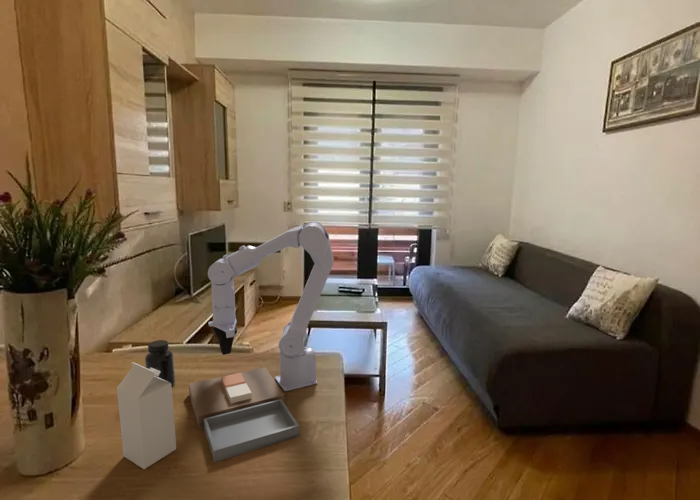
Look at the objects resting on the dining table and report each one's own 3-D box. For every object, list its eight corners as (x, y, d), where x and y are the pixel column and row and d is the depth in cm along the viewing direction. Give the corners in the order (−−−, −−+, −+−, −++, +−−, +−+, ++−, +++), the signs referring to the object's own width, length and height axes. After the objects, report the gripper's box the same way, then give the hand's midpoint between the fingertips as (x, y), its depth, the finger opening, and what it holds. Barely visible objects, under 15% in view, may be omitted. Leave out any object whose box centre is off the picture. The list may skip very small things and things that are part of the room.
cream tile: (246, 388, 104) (246, 383, 103) (251, 398, 99) (251, 392, 99) (226, 393, 101) (225, 387, 101) (230, 403, 97) (230, 397, 97)
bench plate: (265, 377, 115) (265, 367, 115) (284, 405, 102) (284, 394, 101) (189, 394, 106) (188, 383, 106) (199, 428, 92) (198, 416, 92)
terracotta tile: (240, 377, 109) (240, 372, 109) (245, 386, 104) (245, 381, 104) (221, 382, 107) (220, 376, 106) (225, 391, 102) (225, 385, 102)
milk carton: (144, 470, 79) (135, 379, 76) (123, 456, 83) (114, 369, 80) (176, 449, 85) (170, 364, 82) (155, 437, 89) (148, 355, 85)
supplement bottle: (180, 383, 111) (177, 341, 109) (157, 395, 106) (153, 351, 103) (165, 376, 115) (162, 336, 113) (141, 387, 109) (137, 344, 107)
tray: (281, 408, 101) (281, 398, 100) (299, 436, 90) (299, 425, 90) (204, 428, 92) (203, 418, 92) (214, 462, 82) (213, 451, 81)
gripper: (203, 299, 113) (205, 345, 115) (213, 315, 100) (215, 367, 103) (229, 295, 116) (231, 341, 119) (242, 311, 103) (244, 361, 106)
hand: (226, 353), depth 111 cm, fingers closed
